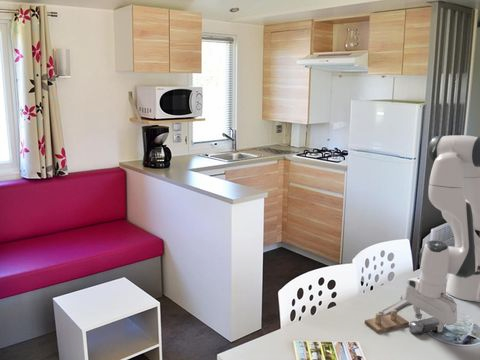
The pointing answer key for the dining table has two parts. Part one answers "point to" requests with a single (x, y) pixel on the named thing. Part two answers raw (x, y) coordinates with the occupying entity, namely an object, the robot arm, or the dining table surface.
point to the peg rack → (386, 322)
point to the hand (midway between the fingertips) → (428, 324)
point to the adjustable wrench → (395, 306)
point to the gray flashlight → (423, 326)
